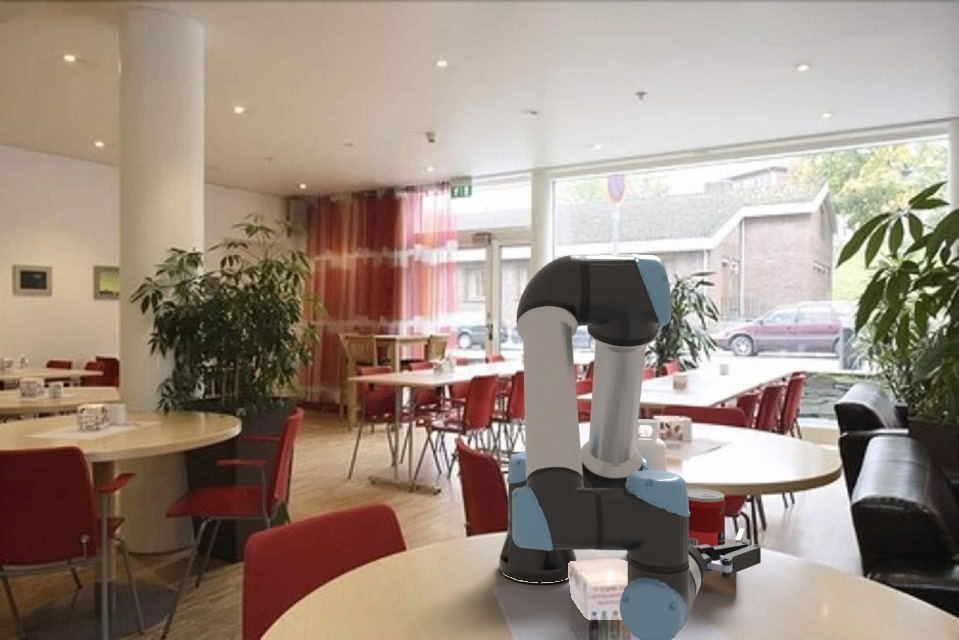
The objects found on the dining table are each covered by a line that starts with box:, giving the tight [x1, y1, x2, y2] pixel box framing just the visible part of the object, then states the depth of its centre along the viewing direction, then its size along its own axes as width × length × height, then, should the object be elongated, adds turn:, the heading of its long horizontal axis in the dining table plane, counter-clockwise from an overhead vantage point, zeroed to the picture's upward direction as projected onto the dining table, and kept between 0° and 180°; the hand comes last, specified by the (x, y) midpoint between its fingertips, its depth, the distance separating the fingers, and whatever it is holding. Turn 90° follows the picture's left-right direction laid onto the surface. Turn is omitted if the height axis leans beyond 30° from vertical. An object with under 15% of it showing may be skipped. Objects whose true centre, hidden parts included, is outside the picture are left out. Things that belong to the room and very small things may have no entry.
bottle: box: [635, 418, 668, 472], centre depth 136 cm, size 8×8×28 cm
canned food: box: [687, 487, 726, 553], centre depth 121 cm, size 8×8×11 cm
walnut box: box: [699, 537, 737, 596], centre depth 124 cm, size 12×14×6 cm
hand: (698, 530), depth 109 cm, fingers open, 13 cm apart
